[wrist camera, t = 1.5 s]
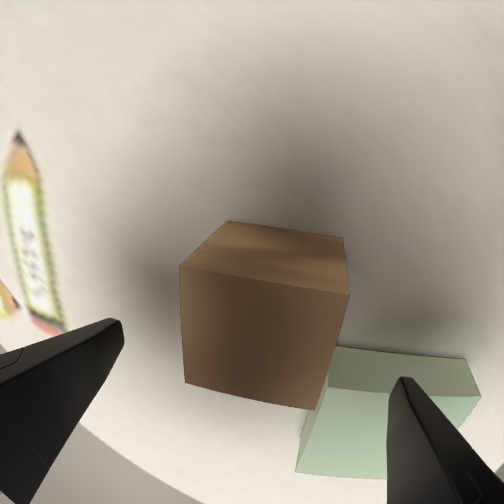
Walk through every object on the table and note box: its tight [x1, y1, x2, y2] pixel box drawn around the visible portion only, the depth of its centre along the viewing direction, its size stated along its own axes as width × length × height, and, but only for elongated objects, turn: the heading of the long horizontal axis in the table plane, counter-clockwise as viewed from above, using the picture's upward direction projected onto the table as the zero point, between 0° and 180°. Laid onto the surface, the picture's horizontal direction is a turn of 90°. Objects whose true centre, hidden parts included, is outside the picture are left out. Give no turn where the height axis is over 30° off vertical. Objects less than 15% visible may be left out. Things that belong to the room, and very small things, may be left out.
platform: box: [295, 346, 481, 479], centre depth 14 cm, size 8×8×3 cm
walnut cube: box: [179, 221, 350, 411], centre depth 12 cm, size 5×5×5 cm
